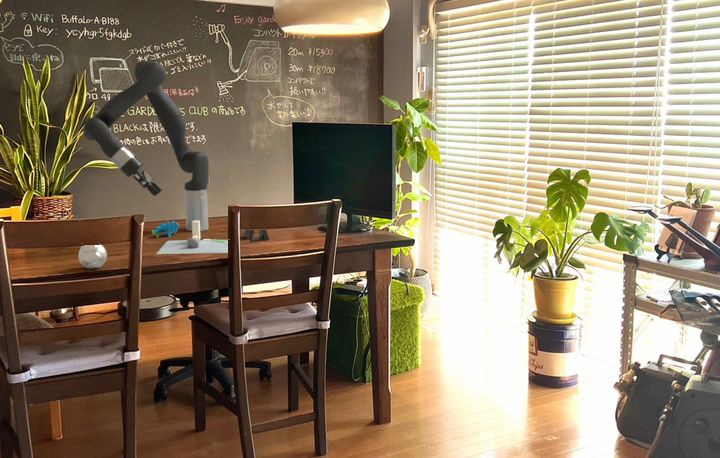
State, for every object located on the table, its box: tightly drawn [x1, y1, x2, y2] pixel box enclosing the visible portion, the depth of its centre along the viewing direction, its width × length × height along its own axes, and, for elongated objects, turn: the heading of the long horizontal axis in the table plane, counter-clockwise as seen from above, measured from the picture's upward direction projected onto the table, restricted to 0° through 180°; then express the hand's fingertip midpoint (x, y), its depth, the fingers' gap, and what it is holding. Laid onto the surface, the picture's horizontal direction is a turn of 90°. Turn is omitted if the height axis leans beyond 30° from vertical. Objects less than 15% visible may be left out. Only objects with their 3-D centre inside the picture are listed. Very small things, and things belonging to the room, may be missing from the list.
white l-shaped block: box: [186, 220, 201, 248], centre depth 269 cm, size 16×4×8 cm, turn 5°
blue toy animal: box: [151, 220, 180, 238], centre depth 285 cm, size 11×6×10 cm
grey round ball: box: [78, 243, 108, 270], centre depth 235 cm, size 9×10×10 cm
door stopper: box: [243, 229, 270, 242], centre depth 283 cm, size 9×6×12 cm, turn 117°
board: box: [156, 238, 229, 255], centre depth 266 cm, size 25×26×2 cm
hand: (158, 193), depth 269 cm, fingers open, 8 cm apart
